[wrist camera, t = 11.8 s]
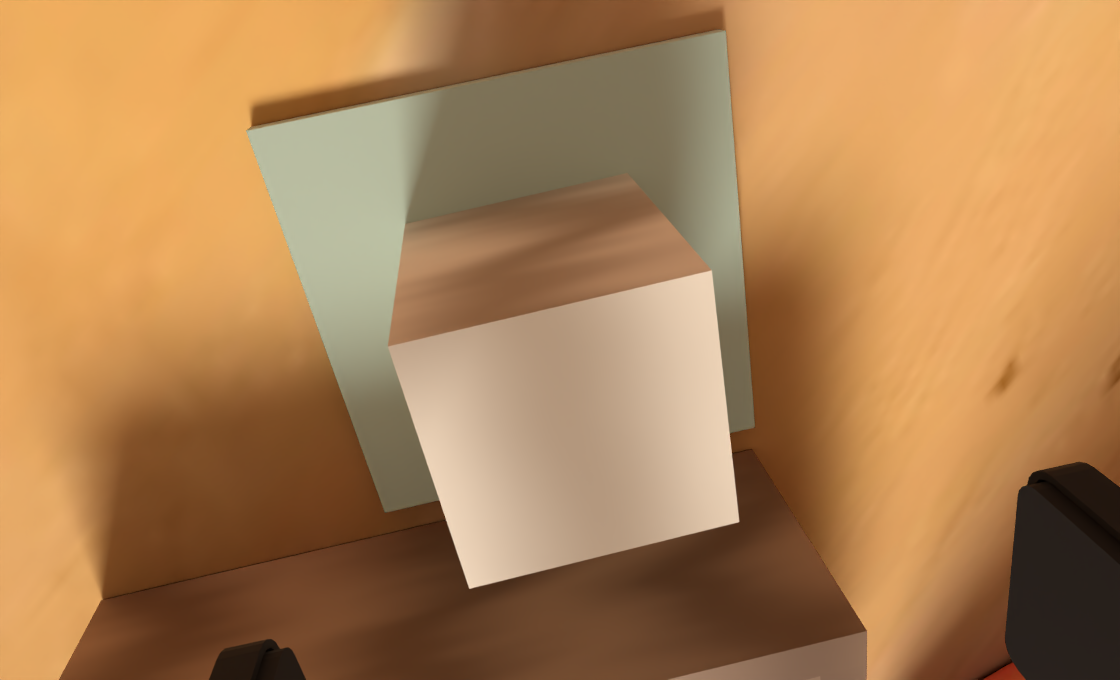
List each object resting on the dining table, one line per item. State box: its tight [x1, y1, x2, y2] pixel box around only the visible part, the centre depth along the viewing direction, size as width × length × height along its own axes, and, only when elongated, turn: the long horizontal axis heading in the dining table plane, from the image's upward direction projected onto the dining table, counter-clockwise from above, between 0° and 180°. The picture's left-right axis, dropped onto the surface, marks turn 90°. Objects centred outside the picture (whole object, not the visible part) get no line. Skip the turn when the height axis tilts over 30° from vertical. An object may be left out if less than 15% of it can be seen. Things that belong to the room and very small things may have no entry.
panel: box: [246, 29, 755, 513], centre depth 18 cm, size 10×10×1 cm
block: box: [388, 173, 739, 589], centre depth 15 cm, size 5×5×6 cm
